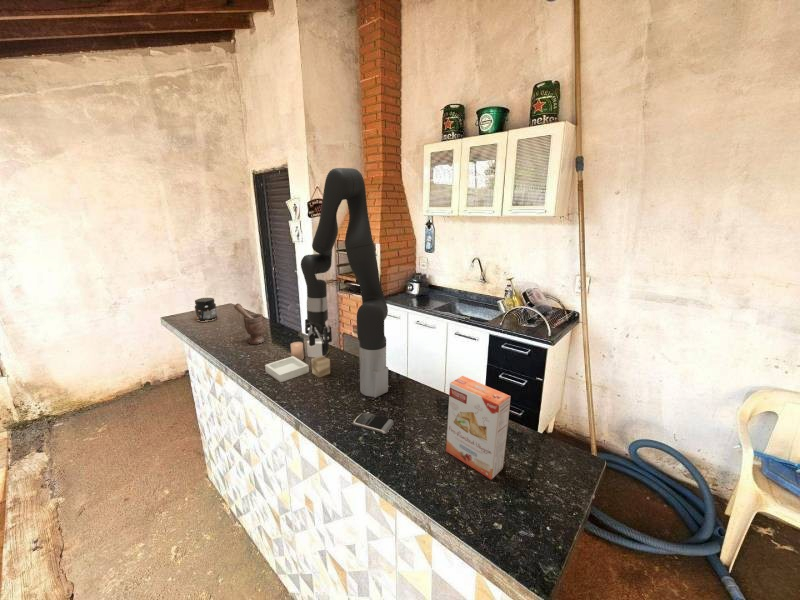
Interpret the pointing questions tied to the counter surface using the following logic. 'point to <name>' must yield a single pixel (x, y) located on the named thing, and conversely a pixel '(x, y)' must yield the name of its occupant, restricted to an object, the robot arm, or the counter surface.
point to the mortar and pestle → (252, 325)
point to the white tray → (287, 369)
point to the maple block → (320, 366)
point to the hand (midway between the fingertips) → (318, 348)
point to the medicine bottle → (316, 348)
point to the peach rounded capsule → (297, 350)
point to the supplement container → (205, 309)
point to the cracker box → (477, 425)
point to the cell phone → (373, 422)
